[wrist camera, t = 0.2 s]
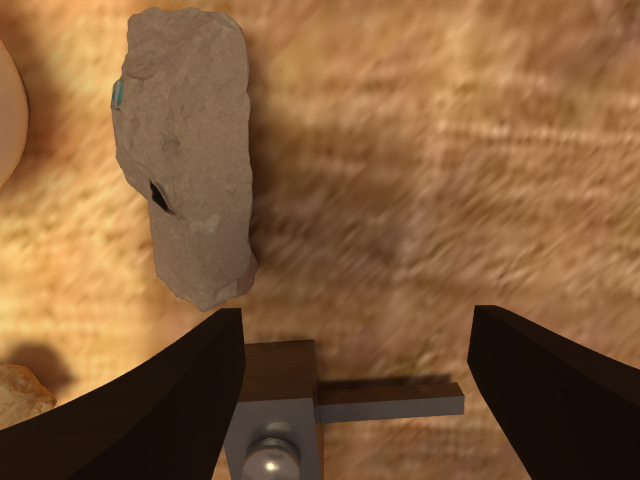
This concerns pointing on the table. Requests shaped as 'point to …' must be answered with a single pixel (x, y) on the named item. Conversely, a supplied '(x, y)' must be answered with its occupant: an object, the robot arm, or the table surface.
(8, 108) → the lidded bowl
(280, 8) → the table surface
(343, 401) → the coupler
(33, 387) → the ginger root
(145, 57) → the concrete fragment
